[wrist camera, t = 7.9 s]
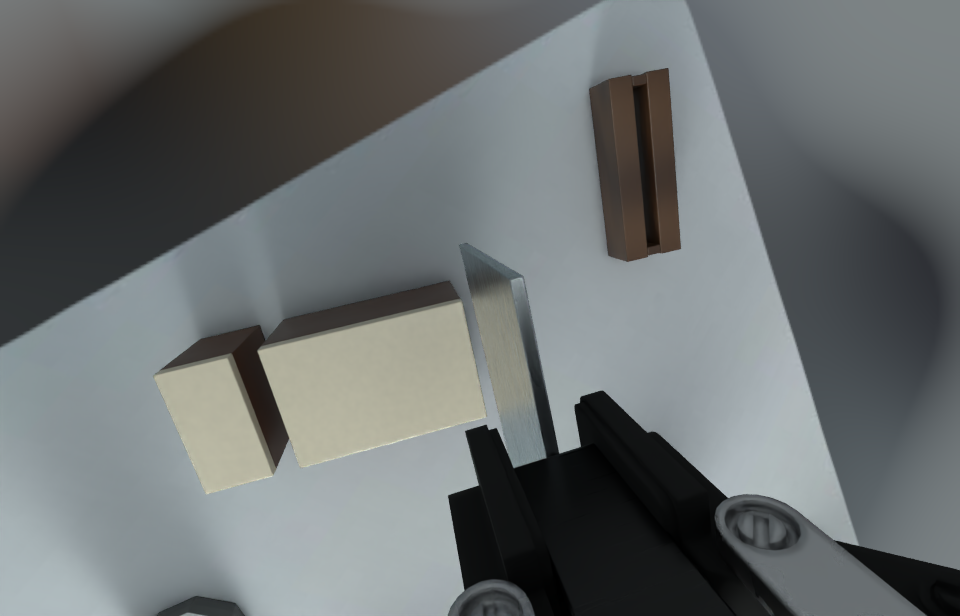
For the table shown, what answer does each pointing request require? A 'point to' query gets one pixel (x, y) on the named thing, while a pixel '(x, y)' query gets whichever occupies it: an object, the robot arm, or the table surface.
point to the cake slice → (225, 409)
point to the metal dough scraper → (576, 479)
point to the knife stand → (636, 164)
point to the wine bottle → (203, 608)
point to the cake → (373, 372)
